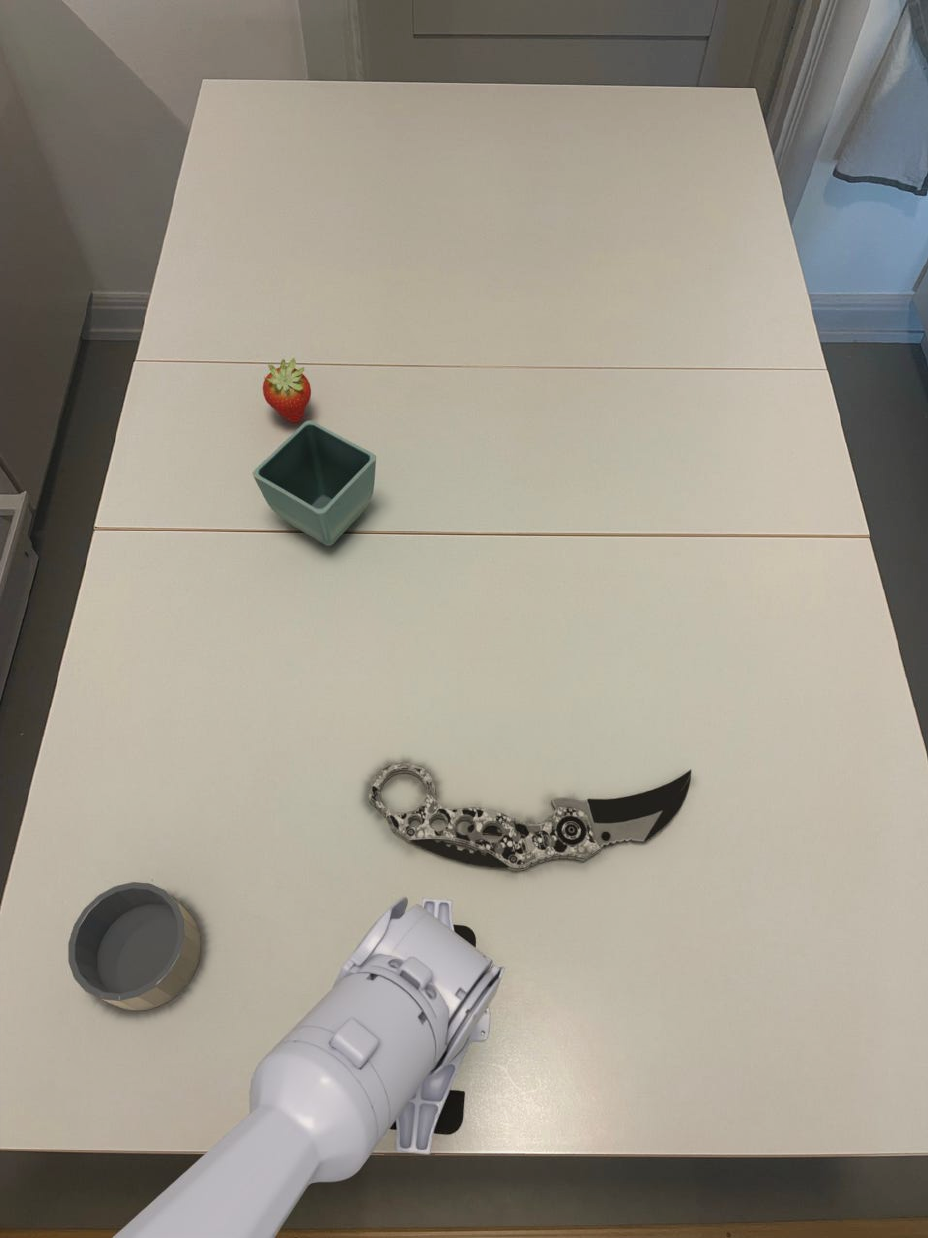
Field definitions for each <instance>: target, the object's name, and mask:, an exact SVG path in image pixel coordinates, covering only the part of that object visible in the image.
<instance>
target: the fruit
mask: <svg viewBox="0 0 928 1238" xmlns="http://www.w3.org/2000/svg"><path fill="white" fill-rule="evenodd" d="M296 364H297V361H296V359H295V357H293V358H292V359H291V360H289V362H288V364H287V363H286V360H285V359H283V358H282V360H281V361H280V365H279V367H277V368H276V367H275V366H274V365H273V364H267V366H268V369H269V371H270V372H269V373H268V374H267V375H266V376H264V377H263V378H264V380H263V383H262V393H263V397H264V400H265V402H266V403H267V404H268V405H269V406H270V407H271V408H272V409H273V410H275V411H276V412H277V413H278V414H279V415H280V416H281V417H283V418H284V419H285V420H287V421H289V422H292V423H299V422H301V420H302V419H303V418H304V417H303V416H304V414H305V410H306V407H307V406H308V404H309V402H310V400H311V395H312V388H311V384H310V381H309V379H308V378H307V377H306V375H305V374H304V373H303V372H304V371H305V367H304V366H303V367H300V368H298V369H297V368H296Z"/></svg>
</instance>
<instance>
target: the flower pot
mask: <svg viewBox="0 0 928 1238" xmlns="http://www.w3.org/2000/svg"><path fill="white" fill-rule="evenodd" d="M376 465H377V455H375V454H374V453H373V452H371V451H369V450H367V449H366V448H363V447H362V446H360V445H359V444H356V443H354V442H352V441H350V440H348V439H346V438H345V437H343V436H341V435H339V434H337V433H335V432H334V431H331V430H329V429H328V428H326V427H325V426H323V425H321V424H319V423H318V422H315V421H313V420H306V421H304V422H303V423H302V424H301V425H300V426H298V428H297V429H296V430H295V431H294V432H293V433H291V435H290V436H289V437H288V438H286V440H285V441H284V442H282V444H280V446H278V447H277V448H276V449H275V450H274V451H273V452H272V453H271V454H270V455H268V457H267V458H266V459H265V460H263V461H262V462H261V463H260V464H259V465H258V466H257V467H256V468H255V469H254V470H253V472H252V476H253V478H254V480H255V482H256V484H257V486H258V488H259V490H260V492H261V495H262V496H263V498H264V500H265V502H266V503H267V505H268V506H269V507H270V509H271V510H272V511H273V512H274V514H276V516H278V517H279V518H280V519H282V520H283V521H285V522H286V523H288V524H289V525H291V526H292V527H294V528H295V529H297V530H299V531H301V532H303V533H304V534H306V535H308V536H309V537H311V538H313V539H315V540H316V541H317V542H319V543H321V544H322V545H324V546H327V547H330V546H332V545H334V544H335V543H336V542H337V540H339V538H340V537H342V535H343V534H344V533H345V532H346V531H347V530H348V529H349V528H350V527H351V525H352V524H354V522H355V521H356V520H357V519H358V518H359V517H360V516H361V514H363V512H364V511H365V510H366V509H367V506H368V505H369V503H370V502H371V499H372V496H373V493H374V489H375V481H376V468H377V467H376Z"/></svg>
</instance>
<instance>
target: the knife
mask: <svg viewBox="0 0 928 1238" xmlns="http://www.w3.org/2000/svg"><path fill="white" fill-rule="evenodd" d="M404 773H405V774H411V775H413V776H415V777H417V778H418V779H419V780H420V781H421V782H422V784H424V788H425V796H424V799H423V801H422V803H421V804H419V806H418V807H416V808H415V809H413V810H411V811H408V812H396V811H393V810H392V809H389V808H388V807H387V806H386V805H385V804H384V802H383V801H382V798H381V792H382V788H383V786H384V784H385V782H386V781H387V780H388V779H389V778H391V777H393V776H395V775H398V774H404ZM691 782H692V768H690V769H689V770H687V771H685V772H683V773H681V774H680V775H678V776H677V777H675V778H673V779H671V780H670V781H667V782H664V783H662V784H660V785H657V786H654V787H652V788H650V789H646V790H641V791H638V792H637V791H636V792H634V793H629V794H625V795H620V796H617V797H616V796H615V797H588V798H586V799H585V800H581V799H579V798H577V797H571V796H569V797H568V796H557V797H554V798H552V799H551V800H550V802H551V804H552V806H553V809H554V811H553V813H552V814H550V815H548V817H547V818H546V819H544V821H543V820H542V821H541V822H537V823H536V822H533V823H531V822H524V821H521V820H519V819H516V818H515V817H511V816H509V815H506V814H505V813H503V812H500V811H498V810H495V809H490V808H487V807H486V808H485V807H481V806H479V807H477V806H476V807H475V806H473V807H472V806H471V807H447V806H444V805H443V804H441V803H440V802H439V801H438V799H437V797H436V796H437V795H436V785H435V783H434V779H433V777H432V776H431V775H430V773H429V772H428V771H427V770H426V769H424V768H423V766H419V765H417V764H415V763H409V762H397V763H393V764H390V765H388V766H385V767H384V768H382V769H380V771H379V772H378V773H377V774H376V775H375V777H374V778H373V780H372V781H371V783H370V787H369V791H368V799H369V803H370V804H371V805H372V806H373V807H374V808H376V809H377V810H378V811H379V812H380V813H381V814H382V816H383V817H384V818H385V819H386V821H387V823H388V824H389V826H390V829H391V831H392V832H393V833H394V834H396V835H397V836H398V837H400V838H401V839H403V840H404V841H406V842H407V843H409V844H411V843H412V844H414V845H416V846H418V847H420V848H421V849H424V850H425V851H428V852H430V853H433V854H436V855H438V856H442V857H444V858H447V859H450V860H452V861H453V860H454V861H456V862H459V863H460V862H461V863H464V864H470V865H474V866H479V867H485V868H486V867H487V868H499V869H500V868H501V869H502V868H504V869H509V870H510V871H512V872H513V871H514V872H520V871H525V870H527V869H529V868H530V867H534V866H535V865H537V864H541V863H543V862H545V861H551V860H559V859H568V860H574V859H575V860H577V861H582V862H584V861H586V860H588V859H589V858H591V857H592V856H594V855H596V854H597V853H599V852H600V851H601V850H602V848H603V847H604V846H609V844H612V845H615V844H616V843H617V842H618V843H622V842H623V841H624V842H629V841H632V842H642V843H647V842H648V841H649V840H651V839H652V838H653V837H655V836H656V835H658V834H659V833H660V832H661V831H662V830H663V829H664V828H666V827H667V826H668V825H669V824H670V823H671V822H672V821H673V819H674V818H675V817H676V816H677V814H678V813H679V811H680V810H681V808H682V806H683V804H684V802H685V801H686V798H687V795H688V793H689V790H690V785H691ZM434 819H442V820H444V822H445V824H446V825H445V827H443V829H442V830H435V829H433V828H432V826H431V824H432V822H433V820H434ZM412 820H418V821H419V822H420V824H419V826H416V827H413V826H411V825H410V822H411V821H412ZM464 820H465V821H469V822H471V823H472V824H469V825H467V827H466V830H467V833H468V834H463V833H461V832H459V830H458V829H457V825H458V824H459V822H461V821H464ZM498 829H499V830H500V831H498ZM484 835H491V836H501V837H500V838H499V839H498V840H495V841H489V840H487V839H486V838H485V836H484ZM447 844H451V845H447ZM458 846H463V847H465V848H463V849H462V850H461V849H459V848H458ZM468 848H469V849H468ZM470 849H472V850H475V851H473V852H470Z"/></svg>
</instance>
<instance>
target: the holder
mask: <svg viewBox="0 0 928 1238" xmlns="http://www.w3.org/2000/svg"><path fill="white" fill-rule="evenodd" d="M67 946H68V947H67V948H68V950H67V951H68V952H67V956H68V958H67V961H68V966H69V968H70V971H71V973H72V977H73V978H74V980H75V981H76V983H77V984H78V985H79V986H80V987H81V988H82V990H84V992H86V993H88V994H90V995H92V996H93V997H95V998H98V999H100V1000H103V1001H104V1002H106V1003H108V1004H111V1005H113V1006H115V1007H118V1008H120V1009H123V1010H127V1011H136V1012H137V1011H139V1012H141V1011H149V1010H151V1009H155V1008H157V1007H160V1006H163V1005H164V1004H166V1003H169V1002H170V1001H171V1000H173V999H174V998H175V997H176V996H178V995H179V994H180V993H182V991H183V990H184V989H185V987H187V985H188V984H189V982H190V981H191V980H192V978H193V976H194V975H195V972H196V971H197V968H198V965H199V961H200V958H201V952H202V941H201V934H200V930H199V926H198V924H197V922H196V921H195V918H193V916H192V915H191V913H190V912H188V911H187V909H186V908H185V907H184V906H182V904H180V903H179V901H177V899H176V898H174V897H173V896H172V895H171V894H170V893H169V892H168V891H167V890H165V889H163V888H161V887H160V886H157V885H155V884H153V883H149V882H139V881H132V882H127V883H123V884H118V885H115V886H112V887H111V888H109V889H107V890H105V891H103V892H102V893H100V894H98V895H96V897H95V898H94V899H93V900H91V902H90V903H88V904H87V905H86V907H84V908H83V910H82V911H81V913H80V915H79V916H78V918H77V920H76V921H75V923H74V924H73V927H72V930H71V934H70V937H69V941H68V945H67Z"/></svg>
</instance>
